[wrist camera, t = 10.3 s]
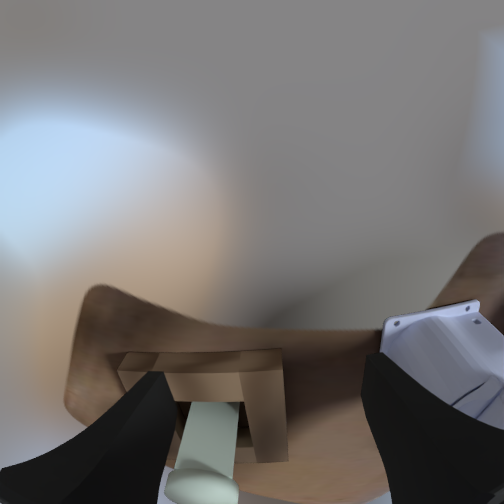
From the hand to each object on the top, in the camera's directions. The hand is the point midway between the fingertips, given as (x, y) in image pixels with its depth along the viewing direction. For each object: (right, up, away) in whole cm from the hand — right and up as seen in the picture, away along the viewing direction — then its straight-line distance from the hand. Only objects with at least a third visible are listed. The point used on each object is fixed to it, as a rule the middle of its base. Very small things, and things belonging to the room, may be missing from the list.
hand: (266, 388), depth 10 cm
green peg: (-4, -10, +14) cm, 18 cm away
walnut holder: (-4, -9, +14) cm, 17 cm away
